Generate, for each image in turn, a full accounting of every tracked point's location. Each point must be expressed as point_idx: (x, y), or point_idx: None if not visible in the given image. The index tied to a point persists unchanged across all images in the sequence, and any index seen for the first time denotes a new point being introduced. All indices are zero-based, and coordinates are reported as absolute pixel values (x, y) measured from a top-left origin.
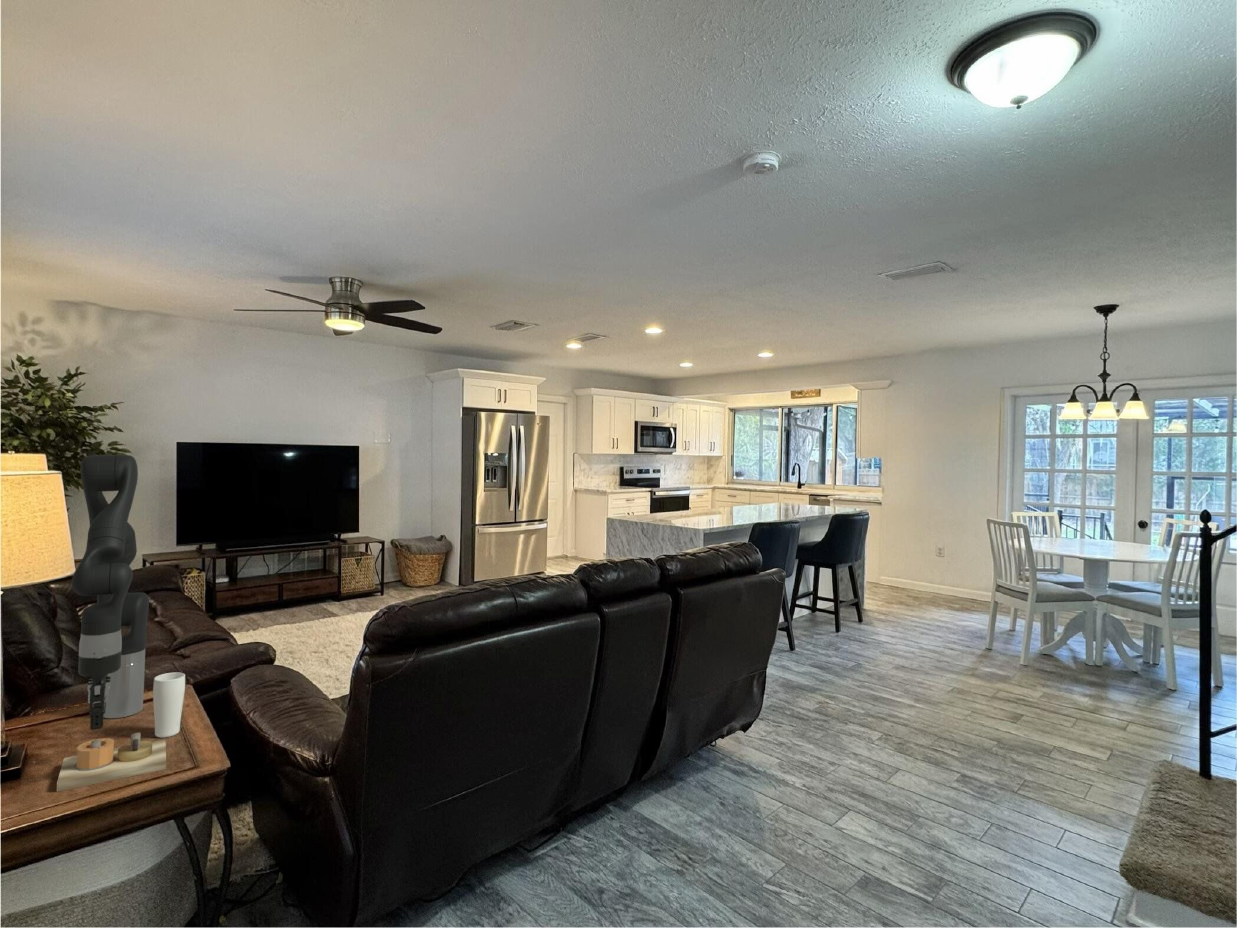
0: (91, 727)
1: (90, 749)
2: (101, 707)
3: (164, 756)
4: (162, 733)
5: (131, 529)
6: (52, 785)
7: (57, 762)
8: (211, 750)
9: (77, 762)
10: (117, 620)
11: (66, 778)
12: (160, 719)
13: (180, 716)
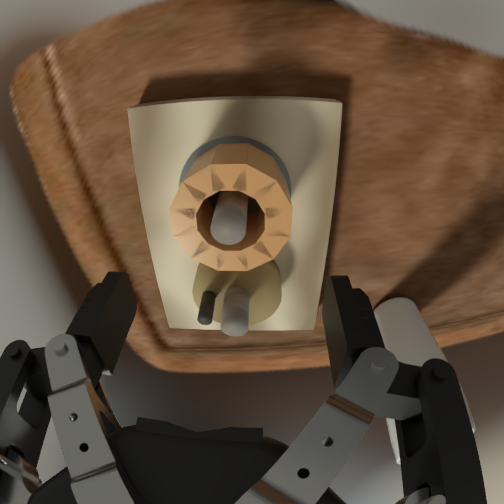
0: (106, 279)
1: (185, 208)
2: (25, 394)
3: (196, 326)
4: (375, 316)
5: None
6: (191, 83)
7: (380, 84)
8: (235, 369)
9: (211, 152)
10: None
11: (145, 128)
12: (389, 342)
13: None
